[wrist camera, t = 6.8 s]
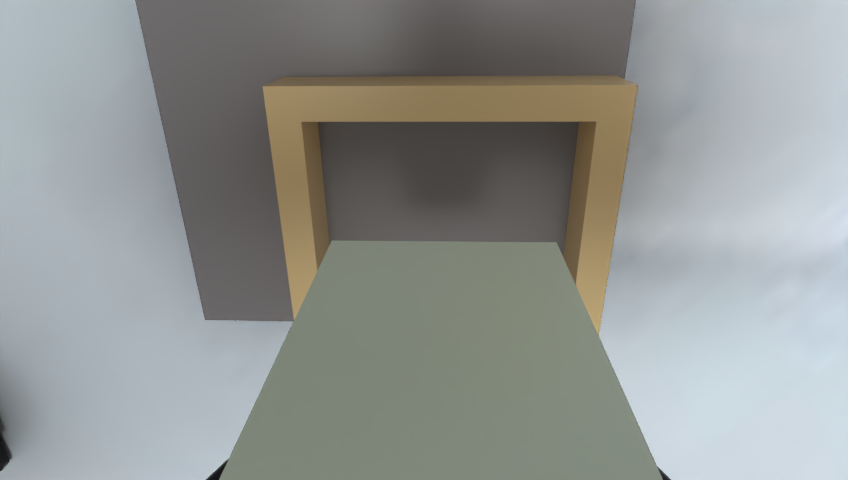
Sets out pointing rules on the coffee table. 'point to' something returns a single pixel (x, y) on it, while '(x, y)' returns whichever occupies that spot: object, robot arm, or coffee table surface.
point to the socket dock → (388, 132)
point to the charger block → (442, 373)
